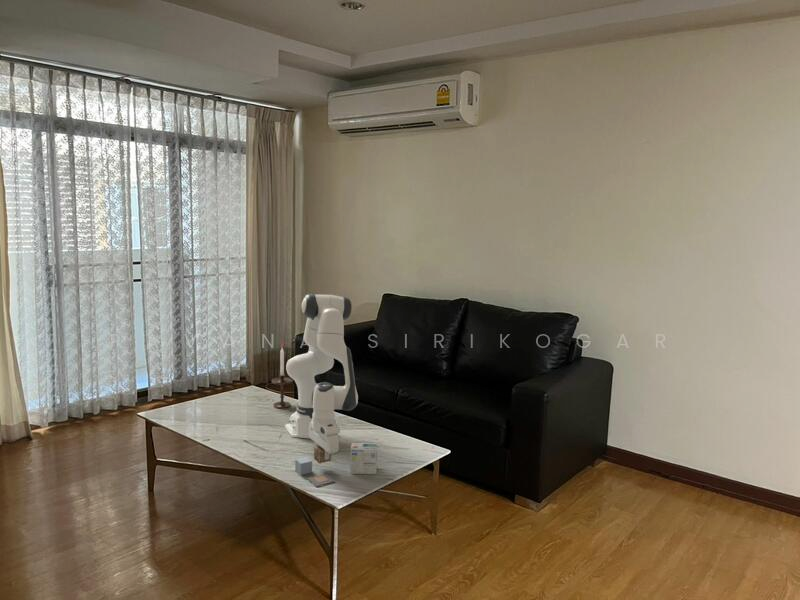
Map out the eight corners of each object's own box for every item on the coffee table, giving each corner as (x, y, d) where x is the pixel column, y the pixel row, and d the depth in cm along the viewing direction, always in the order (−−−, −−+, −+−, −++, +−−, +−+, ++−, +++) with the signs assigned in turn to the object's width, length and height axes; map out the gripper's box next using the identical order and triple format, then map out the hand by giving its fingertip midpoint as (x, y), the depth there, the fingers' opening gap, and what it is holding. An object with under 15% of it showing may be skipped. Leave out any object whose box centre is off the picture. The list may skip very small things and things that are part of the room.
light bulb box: (376, 467, 240) (377, 442, 239) (376, 474, 234) (377, 449, 232) (350, 467, 240) (351, 442, 238) (350, 474, 233) (350, 448, 232)
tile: (307, 479, 228) (307, 477, 227) (325, 474, 232) (325, 472, 232) (316, 487, 221) (316, 485, 221) (334, 482, 226) (334, 480, 226)
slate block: (295, 471, 235) (295, 459, 234) (306, 468, 238) (306, 456, 237) (300, 475, 231) (300, 463, 230) (312, 472, 234) (312, 460, 233)
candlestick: (287, 401, 320) (287, 339, 315) (295, 407, 311) (295, 343, 306) (268, 404, 314) (268, 341, 309) (276, 410, 305) (275, 345, 300)
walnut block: (314, 458, 237) (314, 447, 236) (325, 456, 240) (325, 444, 239) (319, 463, 233) (319, 451, 232) (330, 460, 236) (331, 449, 235)
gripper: (305, 416, 240) (304, 448, 243) (327, 433, 224) (326, 467, 226) (318, 413, 244) (318, 445, 246) (342, 430, 227) (341, 463, 230)
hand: (322, 455), depth 236 cm, fingers closed on walnut block, 5 cm apart
